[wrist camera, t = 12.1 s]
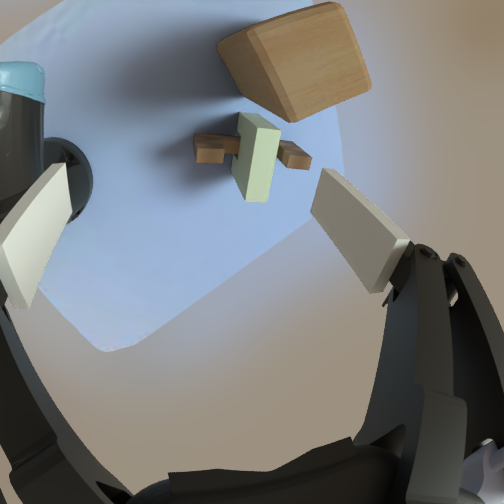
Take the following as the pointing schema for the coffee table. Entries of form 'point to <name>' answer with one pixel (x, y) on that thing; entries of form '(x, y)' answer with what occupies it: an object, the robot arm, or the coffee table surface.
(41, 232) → the robot arm
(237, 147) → the brown wooden bracket
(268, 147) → the pale green block
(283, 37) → the wooden block
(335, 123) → the coffee table surface
